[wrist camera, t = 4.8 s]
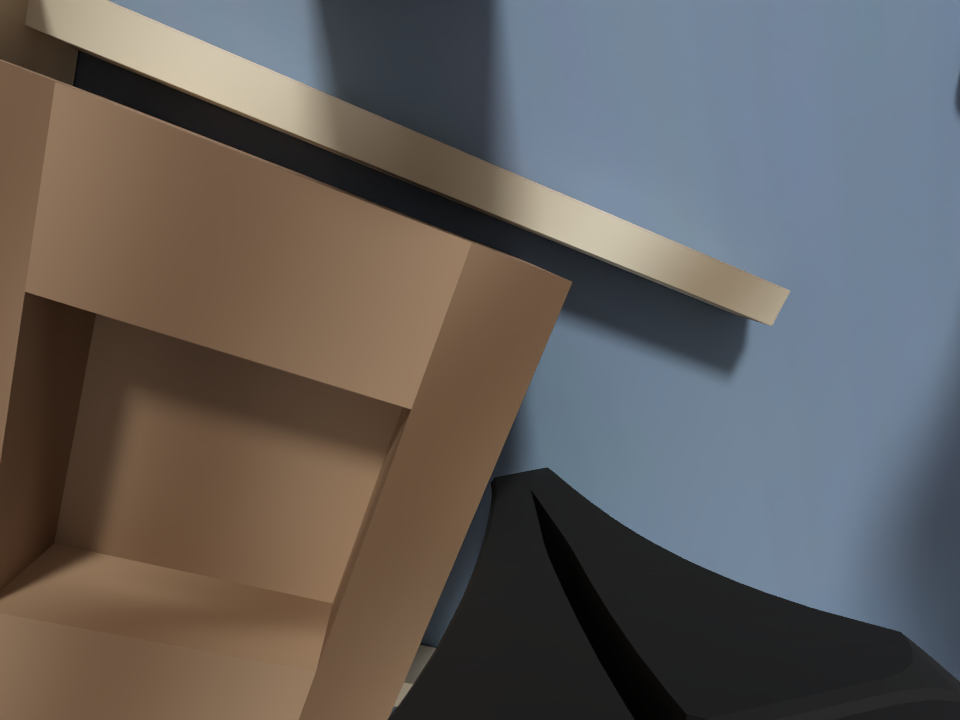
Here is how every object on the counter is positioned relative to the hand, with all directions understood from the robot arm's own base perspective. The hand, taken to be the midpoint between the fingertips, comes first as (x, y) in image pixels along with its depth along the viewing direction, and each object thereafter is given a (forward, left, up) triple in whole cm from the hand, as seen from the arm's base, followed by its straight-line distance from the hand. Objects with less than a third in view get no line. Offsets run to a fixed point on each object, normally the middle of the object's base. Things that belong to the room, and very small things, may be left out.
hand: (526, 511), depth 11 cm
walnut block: (+6, 0, -1) cm, 6 cm away
